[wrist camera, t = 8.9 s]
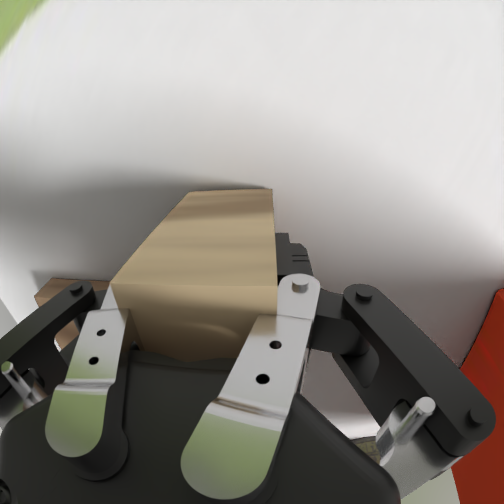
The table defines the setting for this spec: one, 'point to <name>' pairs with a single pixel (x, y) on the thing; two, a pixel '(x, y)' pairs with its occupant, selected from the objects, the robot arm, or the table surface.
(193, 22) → the table surface
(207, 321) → the wooden brick
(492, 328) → the file binder
